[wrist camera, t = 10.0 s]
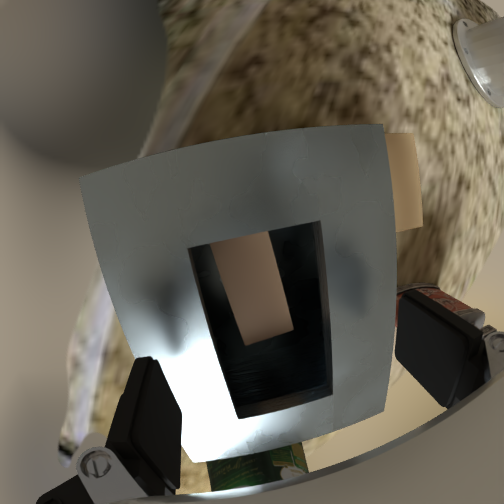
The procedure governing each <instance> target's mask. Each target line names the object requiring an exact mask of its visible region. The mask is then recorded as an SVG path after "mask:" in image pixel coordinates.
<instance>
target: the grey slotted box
mask: <svg viewBox="0 0 504 504" xmlns="http://www.w3.org/2000/svg"><path fill="white" fill-rule="evenodd" d="M79 181H80V186H81V192H82V197H83V201H84V205H85V211H86V215H87V219H88V224H89V228H90V232H91V236H92V239H93V243H94V247H95V250H96V253H97V257H98V261H99V264H100V267H101V270H102V274H103V277H104V280H105V283H106V286H107V289H108V292H109V295H110V297H111V300H112V303H113V306H114V308H115V311H116V314H117V316H118V319H119V322H120V324H121V327H122V329H123V332H124V334H125V336H126V339H127V341H128V343H129V346H130V348H131V350H132V353H133V355H134V357H135V359H136V358H139V357H147V356H151V357H152V358H153V359H157V360H158V361H159V363H160V366H161V368H162V370H163V372H164V375H165V377H166V379H167V381H168V383H169V385H170V388H171V390H172V392H173V394H174V396H175V398H176V400H177V402H178V404H179V406H180V408H181V411H182V415H183V423H182V442H181V444H182V446H183V448H184V449H185V451H186V452H187V454H188V455H189V457H190V458H191V460H192V461H193V462H201V461H210V460H218V459H225V458H231V457H237V456H243V455H248V454H253V453H258V452H263V451H267V450H272V449H276V448H280V447H284V446H288V445H292V444H295V443H299V442H302V441H306V440H309V439H312V438H316V437H319V436H322V435H325V434H328V433H331V432H334V431H336V430H339V429H342V428H345V427H347V426H350V425H352V424H355V423H358V422H360V421H362V420H365V419H367V418H370V417H372V416H374V415H377V414H379V413H381V412H383V411H384V407H385V402H386V396H387V390H388V384H389V377H390V369H391V361H392V353H393V343H394V331H395V317H396V294H397V249H396V226H395V211H394V199H393V189H392V180H391V172H390V165H389V158H388V151H387V145H386V139H385V134H384V128H383V124H359V125H337V126H322V127H310V128H299V129H290V130H281V131H273V132H265V133H258V134H252V135H245V136H239V137H233V138H227V139H222V140H216V141H211V142H206V143H201V144H197V145H192V146H187V147H183V148H179V149H174V150H170V151H166V152H162V153H158V154H154V155H150V156H147V157H143V158H139V159H136V160H132V161H129V162H126V163H122V164H119V165H116V166H113V167H109V168H106V169H103V170H100V171H97V172H94V173H91V174H88V175H86V176H83V177H80V178H79ZM265 231H268V233H269V237H270V241H271V244H272V248H273V252H274V256H275V259H276V263H277V267H278V271H279V274H280V278H281V282H282V286H283V290H284V293H285V297H286V301H287V305H288V309H289V313H290V317H291V321H292V324H293V328H294V330H292V331H289V332H286V333H283V334H280V335H277V336H274V337H271V338H268V339H265V340H262V341H259V342H256V343H252V344H249V345H246V346H245V344H244V341H243V339H242V336H241V333H240V330H239V328H238V325H237V322H236V319H235V316H234V314H233V311H232V308H231V305H230V302H229V299H228V297H227V294H226V291H225V288H224V285H223V282H222V279H221V276H220V273H219V270H218V267H217V264H216V261H215V258H214V255H213V252H212V249H211V246H210V243H213V242H218V241H223V240H227V239H232V238H237V237H241V236H246V235H251V234H256V233H260V232H265Z"/></svg>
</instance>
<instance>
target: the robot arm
mask: <svg viewBox="0 0 504 504" xmlns="http://www.w3.org/2000/svg"><path fill="white" fill-rule="evenodd" d="M453 38H454V42H455V46H456V49H457V52H458V55H459V57H460V60H461V62H462V64H463V66H464V68H465V70H466V72H467V74H468V76H469V78H470V79H471V81H472V83H473V84H474V86H475V87H476V89H477V90H478V92H479V93H480V94H481V95H482V97H483V98H484V99H485V100H486V101H487V102H488V103H490V104H491V105H492V106H494V107H496V108H503V107H504V17H501V18H498V19H495V20H492V21H489V22H486V23H483V24H481V25H478V24H476V23H475V22H473V21H471V20H469V19H465V18H463V19H460V20H458V21H456V22H455V24H454V26H453ZM483 333H484V332H482V331H481V330H479V329H478V328H476V327H475V326H473V325H472V324H470V323H469V322H467V321H466V320H464V319H463V318H461V317H459V316H458V315H456V314H455V313H453V312H452V311H450V310H449V309H447V308H445V307H444V306H442V305H441V304H439V303H437V302H436V301H434V300H432V299H431V298H429V297H428V296H426V295H424V294H423V293H421V292H419V291H418V290H415V289H414V290H411V291H408V292H406V293H403V294H402V296H401V298H400V299H399V305H398V322H397V334H396V344H395V357H396V359H397V360H398V361H399V362H400V363H401V364H402V365H403V366H404V367H405V368H406V369H407V371H408V372H409V373H410V374H411V375H412V376H413V377H414V378H415V379H416V380H417V381H418V382H419V383H420V384H421V385H422V386H423V387H424V388H425V389H426V390H427V392H428V393H430V395H431V396H432V397H433V398H434V399H435V400H436V401H437V402H438V403H439V404H440V405H441V406H442V407H446V408H447V409H448V410H446V411H445V412H443V413H442V414H440V415H438V416H437V417H435V418H434V419H432V420H430V421H428V422H427V423H425V424H423V425H421V426H420V427H418V428H416V429H414V430H413V431H410V432H409V433H407V434H405V435H403V436H401V437H399V438H397V439H395V440H393V441H391V442H389V443H386V444H385V445H382V446H380V447H378V448H376V449H373V450H371V451H369V452H366V453H364V454H361V455H359V456H357V457H354V458H351V459H349V460H346V461H343V462H341V463H338V464H335V465H332V466H329V467H326V468H323V469H320V470H317V471H313V472H310V473H307V474H303V475H300V476H296V477H292V478H288V479H284V480H280V481H276V482H271V483H266V484H261V485H256V486H250V487H244V488H238V489H231V490H224V491H216V492H207V493H196V494H180V495H175V492H176V489H179V488H180V469H181V442H182V423H183V415H182V411H181V408H180V406H179V404H178V402H177V400H176V398H175V396H174V394H173V392H172V390H171V388H170V385H169V383H168V381H167V379H166V377H165V375H164V372H163V370H162V368H161V366H160V363H159V361H158V360H157V359H153V358H152V357H151V356H147V357H139V358H136V359H135V361H134V364H133V367H132V370H131V372H130V375H129V378H128V381H127V384H126V387H125V390H124V393H123V394H122V395H121V397H120V399H119V402H118V405H117V408H116V411H115V415H114V418H113V421H112V424H111V428H110V431H109V434H108V438H107V441H106V445H105V447H93V448H91V449H88V450H86V451H85V452H84V453H82V454H81V456H80V457H79V459H78V461H77V463H76V470H77V473H78V475H76V476H74V477H73V478H71V479H69V480H68V481H66V482H64V483H63V484H61V485H59V486H57V487H56V488H54V489H52V490H50V491H49V492H47V493H45V494H43V495H42V496H41V497H39V499H38V500H37V502H36V504H504V332H493V333H490V334H489V335H488V336H487V337H486V339H485V341H484V340H482V337H483Z"/></svg>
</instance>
